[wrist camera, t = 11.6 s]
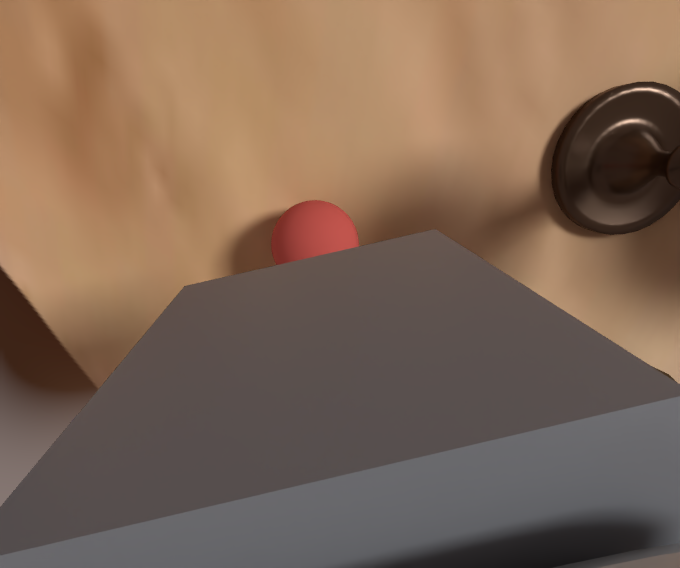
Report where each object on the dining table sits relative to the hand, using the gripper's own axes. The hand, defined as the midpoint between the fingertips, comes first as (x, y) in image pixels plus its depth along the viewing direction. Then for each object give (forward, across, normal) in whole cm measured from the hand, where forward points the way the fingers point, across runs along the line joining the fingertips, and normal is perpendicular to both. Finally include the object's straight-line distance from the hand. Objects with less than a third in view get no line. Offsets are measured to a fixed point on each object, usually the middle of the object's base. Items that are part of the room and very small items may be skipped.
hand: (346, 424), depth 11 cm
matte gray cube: (+3, 0, 0) cm, 3 cm away
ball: (+14, 0, -2) cm, 14 cm away
